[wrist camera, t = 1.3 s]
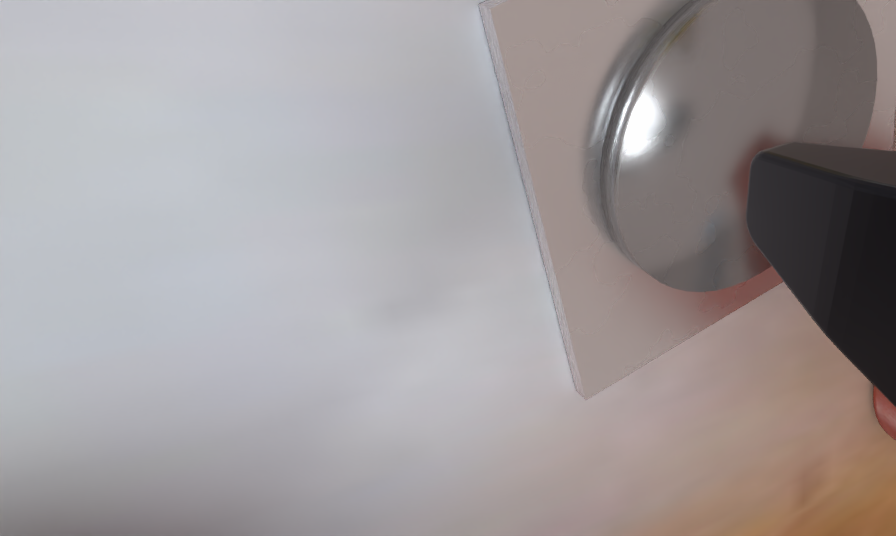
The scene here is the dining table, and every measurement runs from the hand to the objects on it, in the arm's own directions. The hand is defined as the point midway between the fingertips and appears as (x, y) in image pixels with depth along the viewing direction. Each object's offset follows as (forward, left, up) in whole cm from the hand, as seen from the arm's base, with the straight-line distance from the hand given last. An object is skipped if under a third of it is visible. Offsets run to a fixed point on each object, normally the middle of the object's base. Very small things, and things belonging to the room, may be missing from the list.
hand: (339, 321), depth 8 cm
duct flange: (+2, -17, -12) cm, 21 cm away
